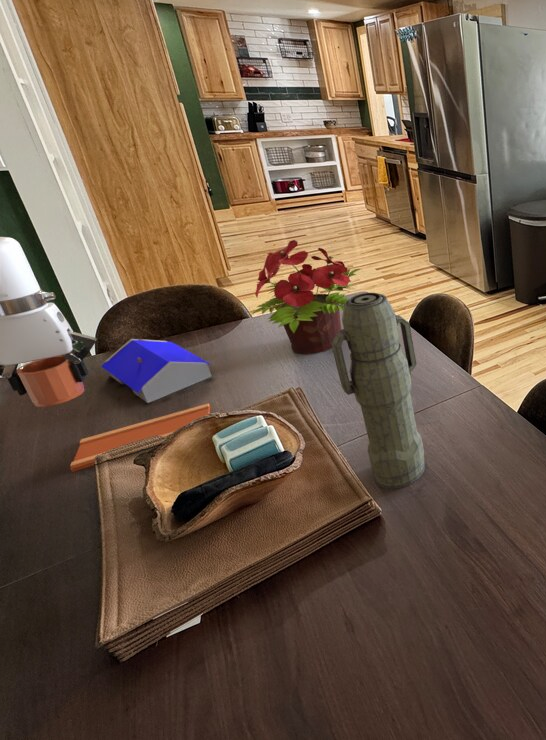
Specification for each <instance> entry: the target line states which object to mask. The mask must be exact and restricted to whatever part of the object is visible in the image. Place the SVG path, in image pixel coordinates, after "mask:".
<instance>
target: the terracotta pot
mask: <svg viewBox="0 0 546 740" xmlns="http://www.w3.org/2000/svg"><path fill="white" fill-rule="evenodd" d="M71 365H72V362H71V361H69V360H67V359H66V358H64V357H62V356H56V357H51V358H46V359H41V360H36V361H31V362H26V363H24V364H23V365H21V366H20V367H17V371H16V373H17V375H18V377H19V379H20V381H21V383H22V384H23V386H24V388H25V390H26V392H27V393H26V394H27V397H28V398H29V400H30V401H31V403H32V405H33V406H34V407H37V408H45V407H52V406H56V405H60V404H63V403H66V402H69V401H71V400H73V399H76V398H77V397H80V396H81V395H82V394H84V393H85V391H86V388H85V384H84V381H83V382H77V380H76V378H75V375H74V373H73V371H72V369H71Z"/></svg>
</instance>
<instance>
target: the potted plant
mask: <svg viewBox="0 0 546 740" xmlns="http://www.w3.org/2000/svg"><path fill="white" fill-rule="evenodd" d="M298 244H299V243H298V241H297V240H295V239H292V240H290V241H288V243H287V246H285V247H283V248H281V249H277V250H276V251H275V252H269V253H268V254H267V256H266V258H265V262H264V265H263V268H262V269H261V270H260V271H259V272H258V278H257V280H258V281H256V289H255V293H254V296H255V297H256V298H259V293H260V291H261V289H262V288H263V287H264V285H266V284H271V285H269V286H266V287H265V289H268V294H271V293H273V296H272V298H270V299H269V300H267V301H264V303H262V304H258V305H257V306H256V307H257V309H255V310H254V311H253V312H252V313H251V316H253V315H254V314H256V313H259V312H261V315H264V314H265V313H266V312H267V311H269V313H270V314H271V315H270V316H269V317H268V322H269V323H270V322H272V325H273V324H279V323H280V324H279V325H278V327H277V328H280V327H283V329H284V331H285V332H286V333H285V334H286V335H287V338H288V340H289V342H290V347H291V350H292V352H294V353H296V354H299V355H312V354H318V353H322V352H326V351H328V350H332V345H331V343H332V341H333V339H334V337H335V335H336V334H337V333H340V330H342V323H341V322H342V321H341V314H340V312H341V311H342V312H343V308H344V304H345V302H346V301H347V300H348V299H349V297H345V296H346V293H341V294H340V292H348V293H351V291H350V290H351V289H352V290H353V291H354V290H356V287H357V285H354V284H353V285H352V284H349V283H351V282H352V281H351V279H350V277H353V276H357V274H356V272H359V271H360V270H362V269H363V268H355V269H353V270H351V268H348V267H346V265H345V263H344V262H343V261H342V260H336V261H333V259H334V257H333V256H332V255H329V253H328V252H327V250H326V249H324V248H321V247H318V248H317V250H318V251H319V252H320V253H321V254H322V255H323V257H325V258H321V257H319V256H316V255H312V256H310V258H311V259H312V260H314V261H325V262H326V265H323V266H319V267H318V266H317V267H316V268H315V267H314V268H313V266H312V265H311V264H310V263H304V262H305V261H306V260H307V258H308V256H309V253H308V252H307V251H305V250H300V251H297V252H295V253H294V254H291V255H290V253H291V252H292V251H293V250H294V249H295V248H297V247H298ZM289 255H290V256H289ZM301 264H302V265H301ZM281 265H285V266H292V267H293V268H294V269H295V270H296V272H292V273H290V274H289V275H288V277H287V279H280V280H279V281H277V282H271V279H272V278H274V277H275V276H276V275H277V273H278V272H279V270H280V269H281V267H280V266H281ZM299 265H301V269H300V270H299V269H298V268H297V267H296V266H299ZM266 273H267V274H266ZM352 287H353V288H352ZM354 287H355V288H354ZM269 288H271V289H269ZM315 288H317V289H316V293H314V292H313V291H314V289H315ZM319 288H322V289H323V290H324V291H326V292H325V293H318V292H319ZM346 289H349V290H346ZM331 292H332V293H331ZM274 310H276V311H275V312H273V311H274ZM340 310H341V311H340Z"/></svg>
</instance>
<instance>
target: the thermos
mask: <svg viewBox="0 0 546 740" xmlns="http://www.w3.org/2000/svg"><path fill="white" fill-rule="evenodd" d="M341 322H342V323H341V324H342V327H343V329H342V328H341V330H340V333H337V334H336V335H335V337H334V339H333V341H332V343H331V345H332V348H331V350H332V353H333V357H334V361H335V365H336V369H337V374H338V378H339V381H340V384H341V388H342V390H343V392H344V393H345V394H346V395H347V396H349V395H352V394H354V397H355V400H356V402H357V403H358V404H359V406H360V408H361V413H362V417H363V422H364V426H365V430H366V434H367V435H366V436H367V440H368V447H367V455H368V459H369V462H370V463H369V464H370V467H371V470H372V473H373V474H374V480H375V483H376V484H377V485H378V486H379V487H380V488H383V489H385V490H397V489H402V488H405V487H407V486H410V485H412V484H414V483H415V482H416V481H418V480H419V479H420V477H422V475H423V474H424V472H425V469H426V460H425V449H424V443H423V440H422V439H423V438H422V435H421V434H420V432H419V431H418V428H417V423H416V417H415V412H414V407H413V401H412V396H411V390H412V385H413V384H412V377H411V375H412V372H413V371H414V369H415V368H416V366H417V363H418V362H417V360H416V353H415V347H414V342H413V341H414V340H413V335H412V329H411V324H410V322H409V321H408V320H407V319H405V318H404V317H402V316H401V315H400V314H397V315H396V313H395V310H394V308H393V306H392V305H391V303H390V301H389V300H388V298H387V296H386V295H384V294H382V293H378V292H363V293H359V294H356V295H354V296H351V297H350V298H348V299H347V301H346V302H345V304H344V308H343V311H342V316H341ZM399 325H400V330H401V335H402V341H403V348H404V352H403V351H402V345H401V343H400V341H399V339H400V335H399V328H398V326H399ZM344 341H346V344H347V348H348V350H349V351H350V354H349V358H350V365H349V374H348V369H347V365H346V361H345V356H344V353H343V349H342V344H343V342H344ZM404 353H405V354H404ZM349 376H350V378H349Z"/></svg>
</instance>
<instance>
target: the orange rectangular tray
mask: <svg viewBox="0 0 546 740" xmlns="http://www.w3.org/2000/svg"><path fill="white" fill-rule="evenodd" d="M208 414H210V415H211V405H210V402H208V403H205V404H201V405H197V406H194V407H190V408H187V409H183V410H181V411H175V412H173V413H171V414H165V415H163V416H159V417H155V418H151V419H148V420H145V421H141V422H137V423H134V424H131V425H127V426H124V427H120V428H116V429H113V430H109V431H106V432H102V433H99V434H95V435H92V436H91V435H90V436H88V437H85V438H81V439H80V441H79V447H78V449H77V451H76V454H75V456H74V458H73V461H71V463H70V466H69V467H70V468H69V470H70V471H71V473H74V472H78V471H81V470H84V469H87V468H90V467H94V466H95V465H94V462H95V457H96V456H97V455H100V454H102V453H105V452H106V451H108V450H110V449H113V448H117V447H120V446H123V445H125V444H128V443H131V442H135V441H138V440H142V439H145V438H148V437H152V436H156V435H158V436H167V435H169V434H171V433H172V432H174V431H176V430H177V429H179V428H181V427H183V426H185V425H187V424H189V423H190V422H192V421H193V420H195V419H198V418H201V417H203V416H205V415H208Z"/></svg>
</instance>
